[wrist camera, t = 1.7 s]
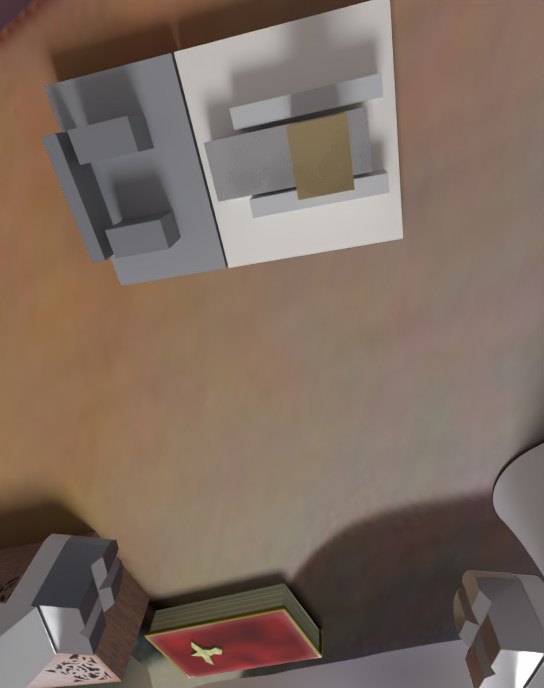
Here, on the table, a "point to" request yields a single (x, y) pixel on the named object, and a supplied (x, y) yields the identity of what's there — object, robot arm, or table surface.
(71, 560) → the robot arm
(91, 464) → the table surface
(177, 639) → the hardcover book
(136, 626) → the tissue box cover
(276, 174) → the bolt
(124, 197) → the plate
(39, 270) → the table surface
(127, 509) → the table surface
